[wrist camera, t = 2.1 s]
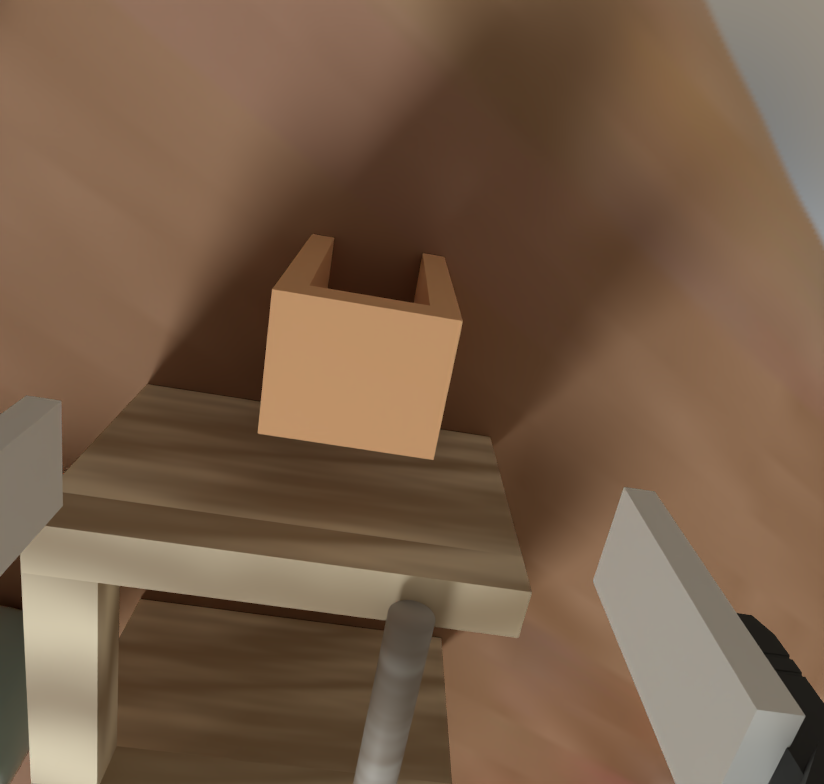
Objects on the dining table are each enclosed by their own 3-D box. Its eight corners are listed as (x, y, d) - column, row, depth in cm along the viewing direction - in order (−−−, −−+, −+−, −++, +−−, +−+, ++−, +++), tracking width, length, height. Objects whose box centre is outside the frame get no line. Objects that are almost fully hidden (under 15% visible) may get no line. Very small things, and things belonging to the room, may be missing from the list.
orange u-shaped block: (312, 233, 31) (272, 289, 21) (444, 256, 31) (462, 320, 22) (299, 339, 32) (257, 433, 23) (424, 359, 33) (433, 460, 23)
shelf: (146, 384, 33) (-10, 552, 21) (490, 436, 34) (540, 624, 22) (139, 613, 38) (11, 858, 26) (437, 651, 40) (454, 902, 27)
